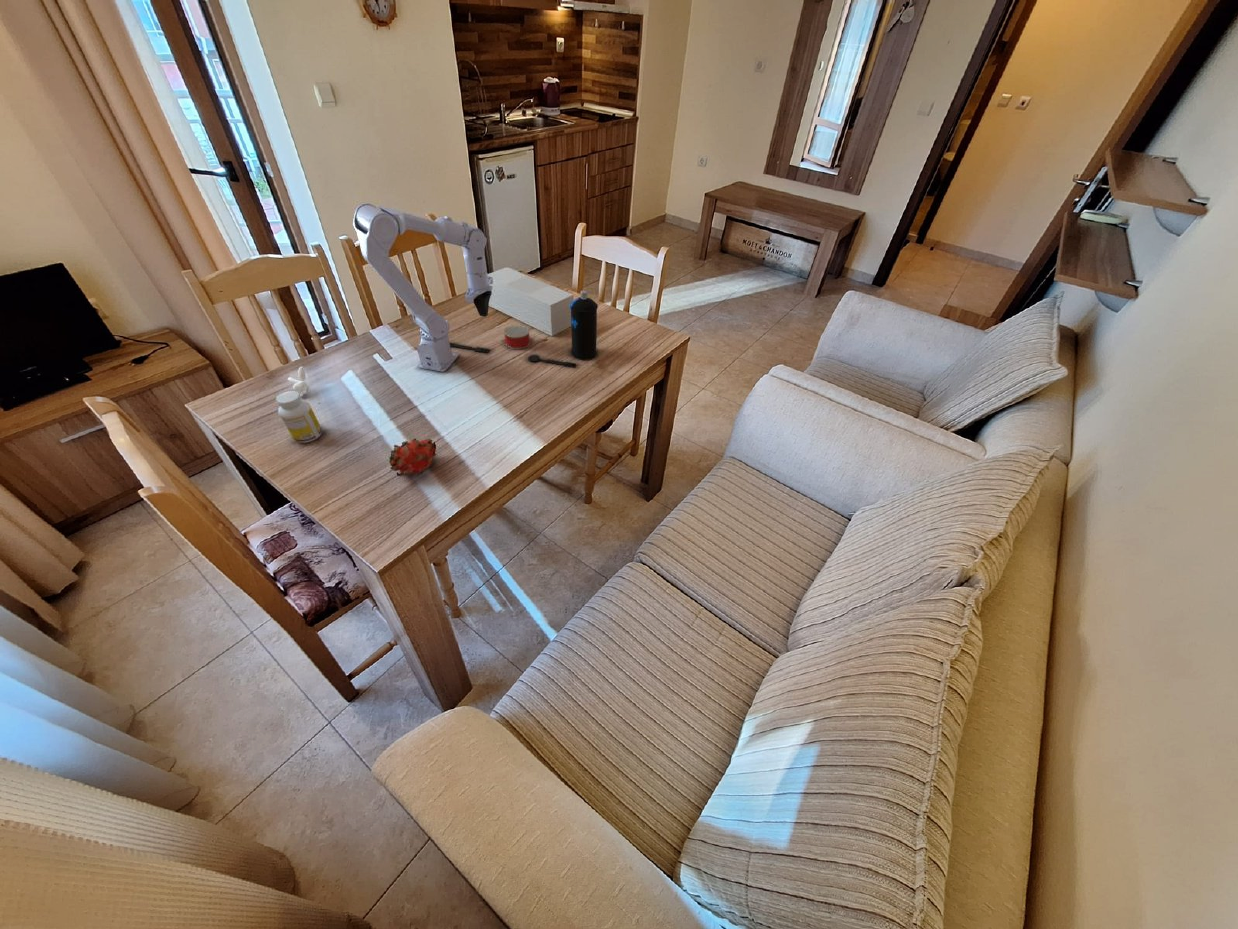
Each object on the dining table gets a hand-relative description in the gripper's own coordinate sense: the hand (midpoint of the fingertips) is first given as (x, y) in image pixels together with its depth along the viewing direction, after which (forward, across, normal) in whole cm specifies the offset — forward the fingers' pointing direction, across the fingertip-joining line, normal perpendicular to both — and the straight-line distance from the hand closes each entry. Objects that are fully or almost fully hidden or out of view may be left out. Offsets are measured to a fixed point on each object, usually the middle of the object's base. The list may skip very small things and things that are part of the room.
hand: (483, 315), depth 145 cm
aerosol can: (+10, +3, -31) cm, 33 cm away
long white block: (+10, +22, -6) cm, 25 cm away
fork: (+9, -5, +5) cm, 12 cm away
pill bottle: (+10, -54, +23) cm, 59 cm away
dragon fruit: (+10, -57, -8) cm, 58 cm away
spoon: (+9, -5, -23) cm, 25 cm away
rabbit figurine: (+10, -38, +37) cm, 54 cm away
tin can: (+9, +3, -9) cm, 13 cm away
